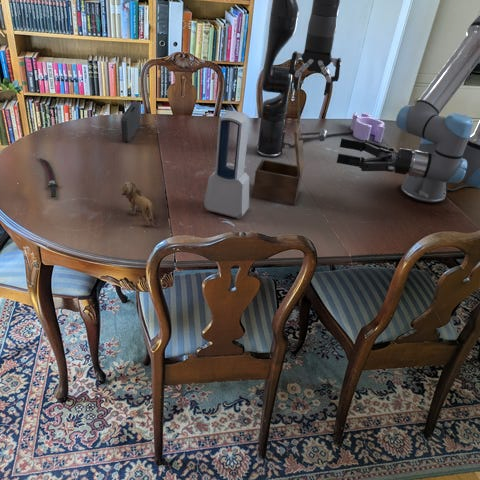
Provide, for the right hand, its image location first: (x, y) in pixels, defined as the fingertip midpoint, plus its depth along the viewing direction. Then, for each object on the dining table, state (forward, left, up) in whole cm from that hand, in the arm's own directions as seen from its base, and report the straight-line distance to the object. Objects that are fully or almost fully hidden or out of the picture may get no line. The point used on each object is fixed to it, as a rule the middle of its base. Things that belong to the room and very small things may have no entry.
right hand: (338, 150), depth 143 cm
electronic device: (+34, +3, -19) cm, 39 cm away
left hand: (+10, -5, +16) cm, 19 cm away
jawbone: (-52, -41, -19) cm, 69 cm away
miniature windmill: (-9, -74, -19) cm, 77 cm away
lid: (+11, -5, -2) cm, 13 cm away
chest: (+16, -7, -19) cm, 26 cm away
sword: (+89, -20, -19) cm, 94 cm away
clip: (-42, -66, -19) cm, 81 cm away
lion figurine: (+60, +6, -19) cm, 64 cm away
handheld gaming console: (+63, -62, -19) cm, 90 cm away
